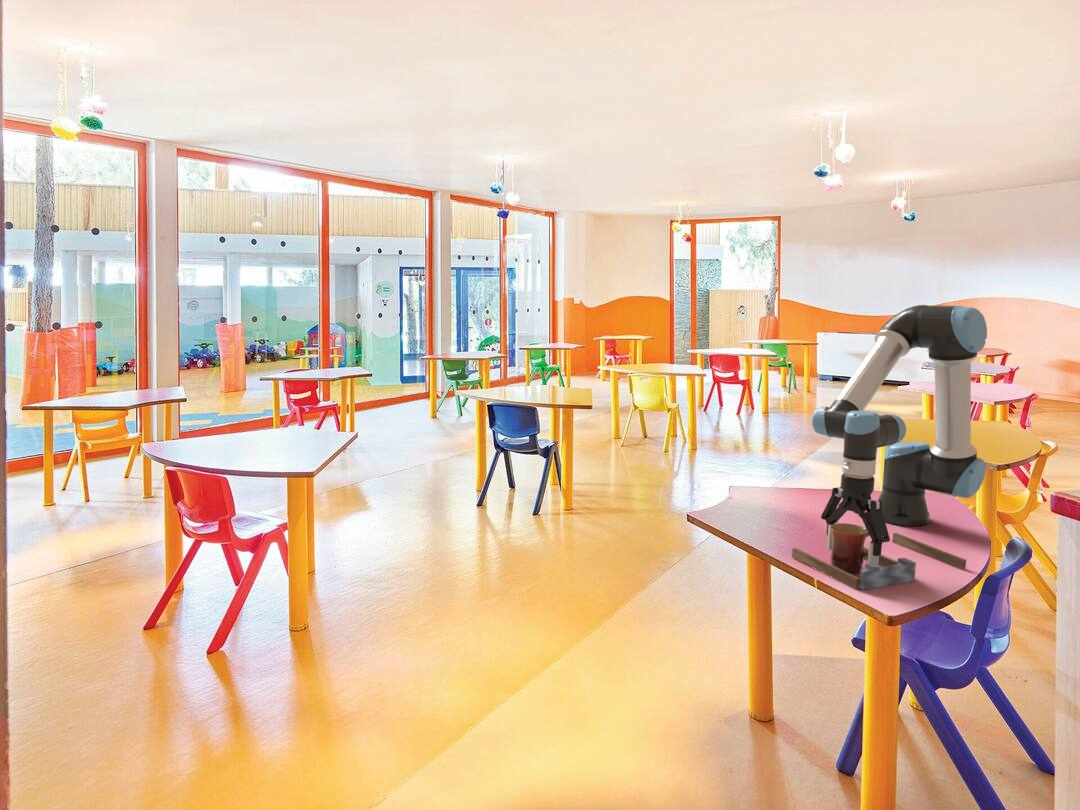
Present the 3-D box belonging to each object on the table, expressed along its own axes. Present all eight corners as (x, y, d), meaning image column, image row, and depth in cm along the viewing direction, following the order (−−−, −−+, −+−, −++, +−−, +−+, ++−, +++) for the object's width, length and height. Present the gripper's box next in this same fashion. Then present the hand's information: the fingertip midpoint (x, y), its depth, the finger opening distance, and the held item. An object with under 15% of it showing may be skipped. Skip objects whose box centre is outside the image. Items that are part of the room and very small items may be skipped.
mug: (835, 575, 189) (838, 534, 187) (821, 562, 198) (824, 523, 196) (884, 575, 189) (888, 534, 188) (868, 562, 198) (871, 523, 196)
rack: (895, 541, 214) (896, 522, 213) (971, 571, 192) (973, 550, 191) (791, 557, 201) (793, 537, 200) (861, 592, 179) (863, 569, 178)
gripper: (810, 464, 200) (804, 543, 204) (886, 489, 177) (878, 578, 181) (833, 462, 203) (827, 540, 206) (911, 486, 180) (903, 573, 184)
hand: (851, 558), depth 194 cm, fingers open, 13 cm apart
